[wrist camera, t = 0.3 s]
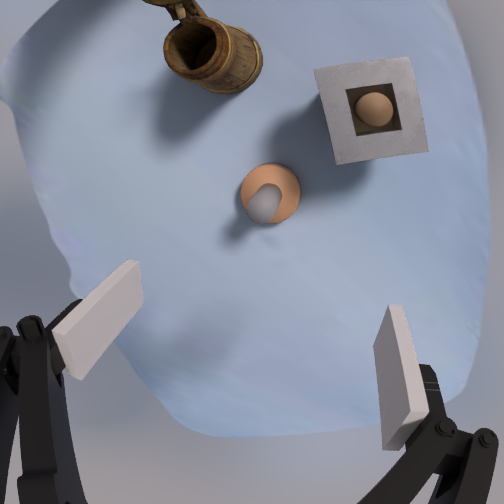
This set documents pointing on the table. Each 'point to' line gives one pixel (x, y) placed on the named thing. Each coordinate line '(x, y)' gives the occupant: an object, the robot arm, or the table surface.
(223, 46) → the wooden mug
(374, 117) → the stand
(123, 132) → the table surface
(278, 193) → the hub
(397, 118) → the square metal nut
